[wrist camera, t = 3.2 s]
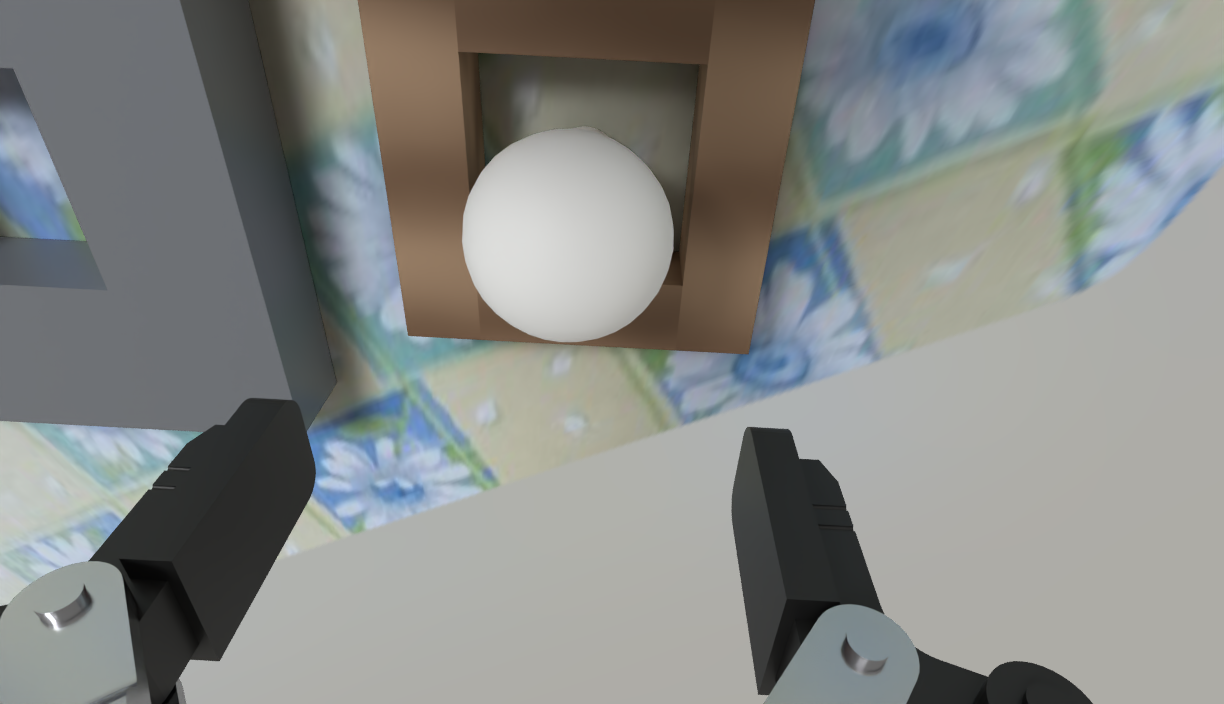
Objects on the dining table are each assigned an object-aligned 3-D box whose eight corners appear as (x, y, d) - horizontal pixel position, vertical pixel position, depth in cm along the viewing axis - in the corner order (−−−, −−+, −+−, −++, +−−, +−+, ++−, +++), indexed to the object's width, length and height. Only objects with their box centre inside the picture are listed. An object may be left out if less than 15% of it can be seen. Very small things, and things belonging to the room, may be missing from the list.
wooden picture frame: (380, -68, 22) (348, -63, 20) (801, -46, 22) (822, -39, 20) (427, 299, 30) (408, 335, 28) (739, 316, 30) (748, 354, 28)
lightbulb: (657, 59, 24) (667, 156, 15) (671, 217, 28) (686, 375, 19) (492, 80, 25) (407, 187, 16) (525, 233, 28) (471, 393, 19)
